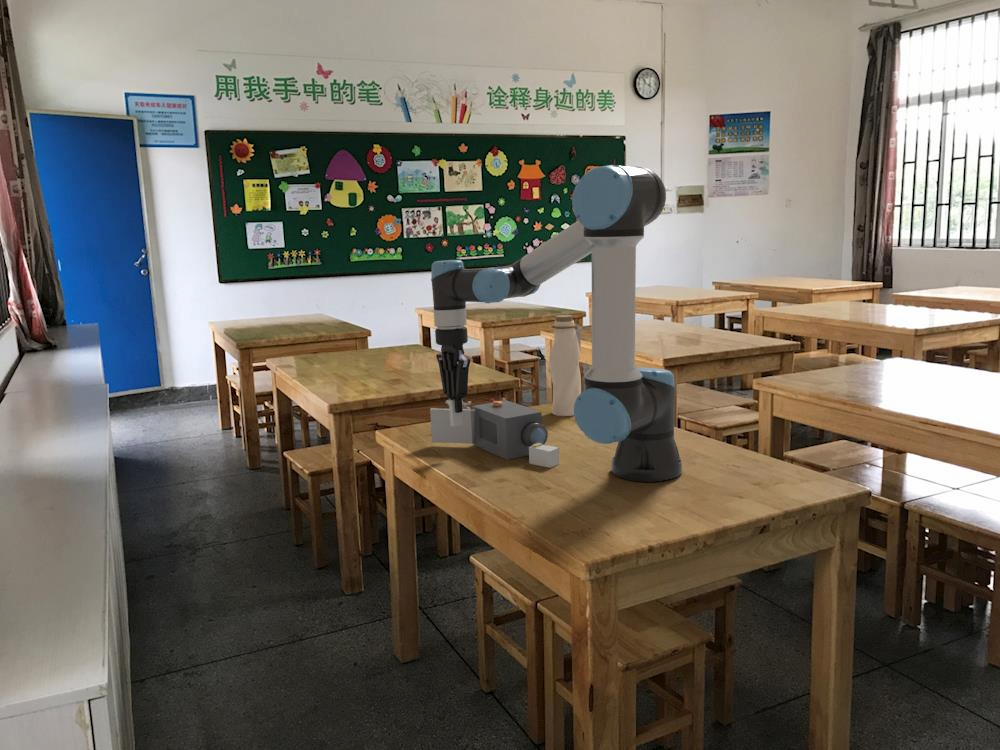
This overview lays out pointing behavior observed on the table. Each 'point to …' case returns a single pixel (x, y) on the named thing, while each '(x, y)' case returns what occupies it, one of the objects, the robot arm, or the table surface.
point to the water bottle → (565, 365)
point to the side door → (450, 434)
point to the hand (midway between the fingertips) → (457, 425)
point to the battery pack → (543, 455)
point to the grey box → (508, 428)
